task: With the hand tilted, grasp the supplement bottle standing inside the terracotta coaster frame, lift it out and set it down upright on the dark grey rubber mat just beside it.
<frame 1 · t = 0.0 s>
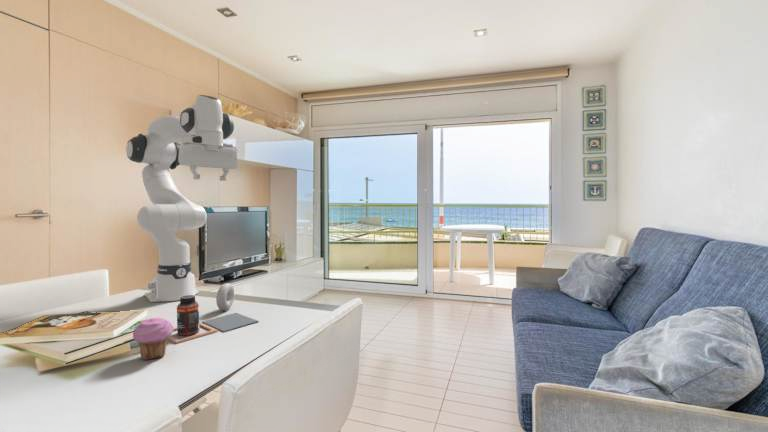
hand: (210, 180, 129), 48 cm above the table, tool pointing down, fingers open, 8 cm apart
coaster frame: (188, 332, 110), on the table
mat: (230, 322, 120), on the table
supplement bottle: (188, 333, 110), resting in coaster frame
white toy tire: (225, 310, 133), on the table
cupcake: (154, 356, 94), on the table
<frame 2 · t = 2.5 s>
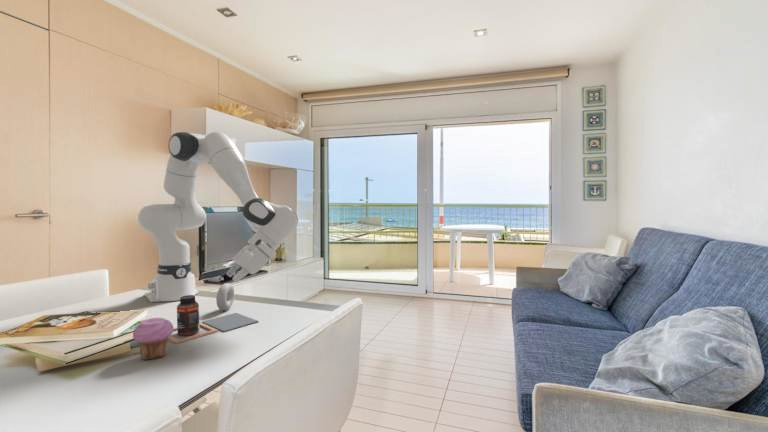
hand: (231, 278, 116), 15 cm above the table, tool tilted 45°, fingers open, 8 cm apart
nothing on the table moved.
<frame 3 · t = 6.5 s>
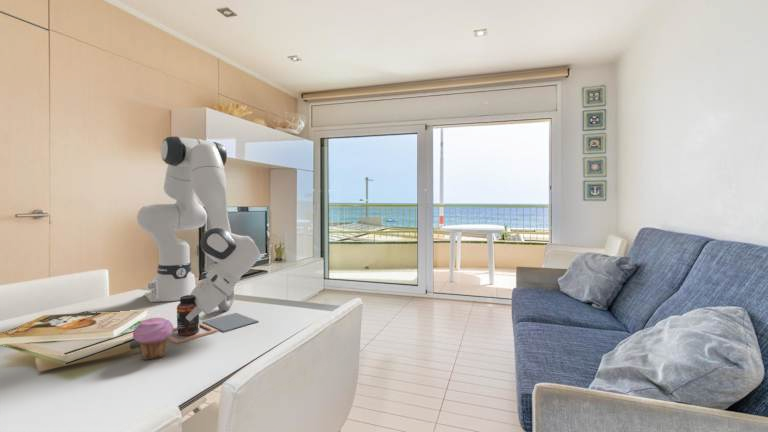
hand: (185, 315, 109), 5 cm above the table, tool tilted 45°, fingers closed on supplement bottle, 6 cm apart
supplement bottle: (188, 333, 110), resting in coaster frame, touching gripper
everything else where it was.
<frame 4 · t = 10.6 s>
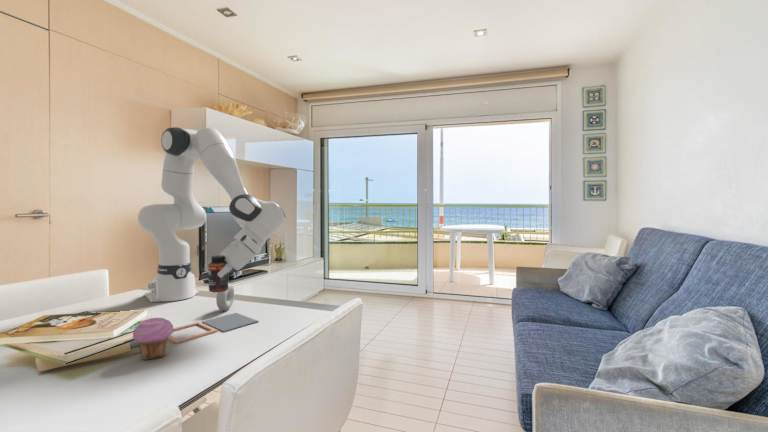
hand: (216, 274, 116), 17 cm above the table, tool tilted 45°, fingers closed on supplement bottle, 6 cm apart
supplement bottle: (218, 291, 116), point 11 cm above the table, touching gripper
everything else where it was.
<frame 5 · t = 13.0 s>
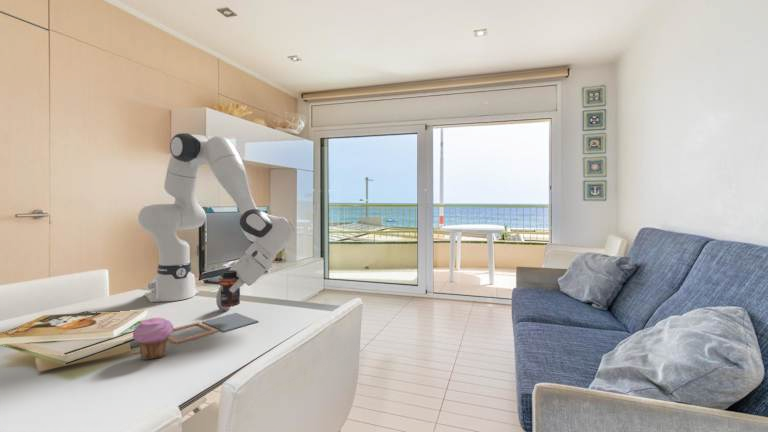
hand: (228, 288, 119), 11 cm above the table, tool tilted 45°, fingers closed on supplement bottle, 6 cm apart
supplement bottle: (230, 305, 119), point 6 cm above the table, touching gripper
everything else where it was.
when the fingers open (7 cm above the table, at t = 15.1 s): supplement bottle stays where it is, resting on mat.
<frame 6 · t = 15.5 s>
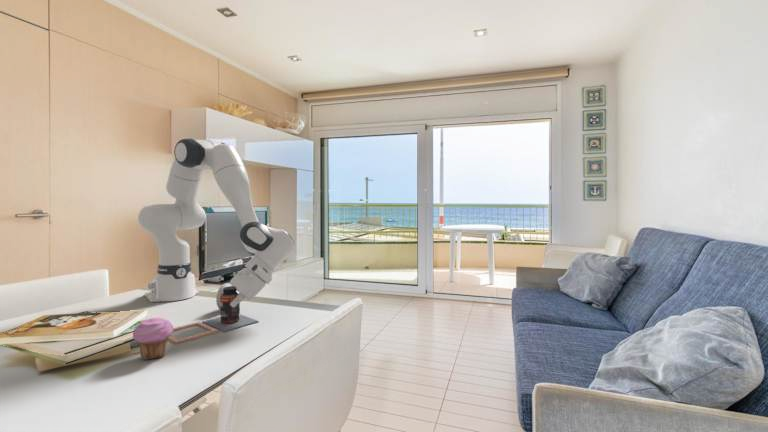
hand: (228, 302, 119), 7 cm above the table, tool tilted 45°, fingers open, 8 cm apart
supplement bottle: (230, 321, 120), resting on mat
everything else where it was.
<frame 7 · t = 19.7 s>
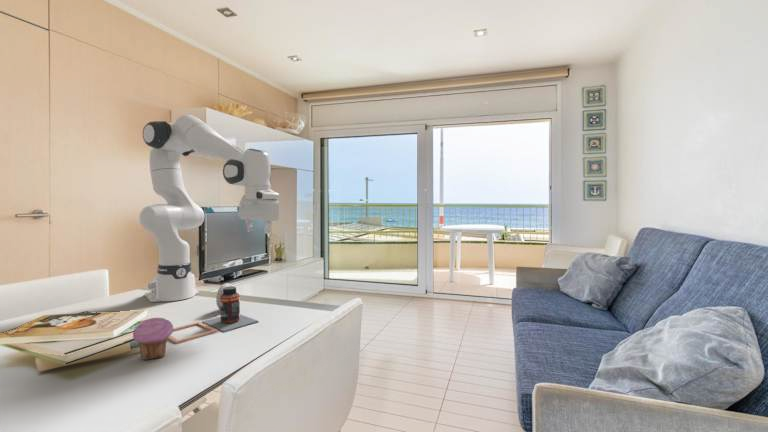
hand: (258, 232, 129), 29 cm above the table, tool pointing down, fingers open, 8 cm apart
nothing on the table moved.
at the end: supplement bottle inside the target area (0.5 cm from its centre), resting on mat; supplement bottle tilted 0°; the gripper is holding nothing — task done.
